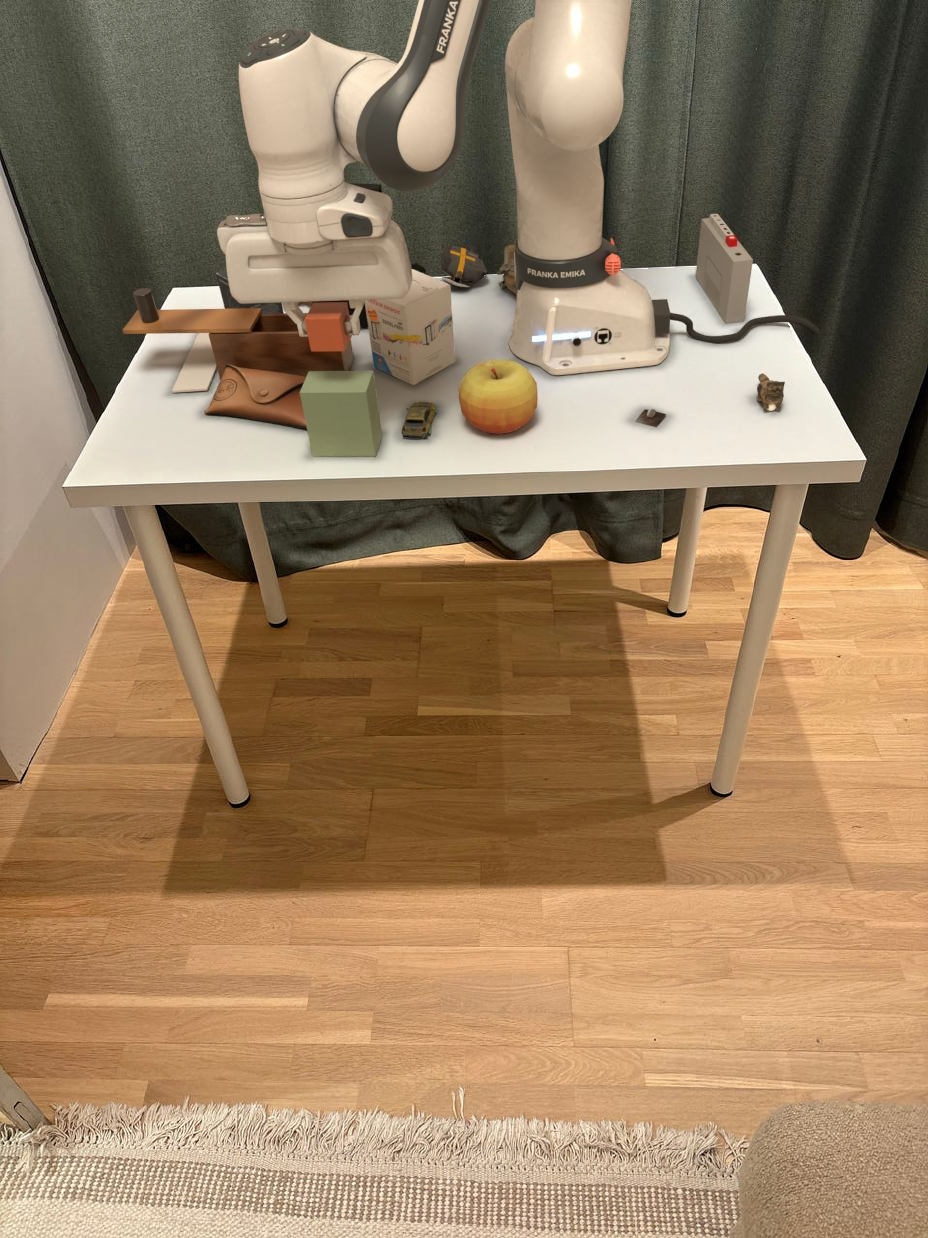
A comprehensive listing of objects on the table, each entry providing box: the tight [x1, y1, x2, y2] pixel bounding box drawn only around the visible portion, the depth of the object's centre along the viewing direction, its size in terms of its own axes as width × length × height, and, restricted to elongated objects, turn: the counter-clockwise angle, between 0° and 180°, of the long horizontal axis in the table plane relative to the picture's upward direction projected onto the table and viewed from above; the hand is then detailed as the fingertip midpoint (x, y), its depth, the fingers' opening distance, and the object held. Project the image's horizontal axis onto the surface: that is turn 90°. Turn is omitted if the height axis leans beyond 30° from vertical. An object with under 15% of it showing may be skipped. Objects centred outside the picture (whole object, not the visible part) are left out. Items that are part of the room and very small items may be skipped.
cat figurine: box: [756, 373, 786, 412], centre depth 120 cm, size 3×8×4 cm, turn 0°
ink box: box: [365, 269, 456, 386], centre depth 130 cm, size 9×8×12 cm
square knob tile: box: [635, 408, 667, 428], centre depth 119 cm, size 3×3×1 cm
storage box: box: [208, 312, 355, 381], centre depth 133 cm, size 18×6×7 cm, turn 84°
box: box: [215, 268, 284, 314], centre depth 138 cm, size 8×6×11 cm
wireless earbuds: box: [411, 262, 430, 276], centre depth 153 cm, size 7×2×5 cm
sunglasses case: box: [203, 365, 307, 430], centre depth 127 cm, size 18×7×7 cm
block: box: [305, 302, 353, 351], centre depth 109 cm, size 4×4×4 cm
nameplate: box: [171, 333, 218, 394], centre depth 140 cm, size 22×1×5 cm
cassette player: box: [694, 213, 754, 324], centre depth 139 cm, size 16×3×10 cm, turn 6°
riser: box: [300, 370, 383, 457], centre depth 117 cm, size 8×5×9 cm, turn 84°
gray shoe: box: [439, 245, 489, 288], centre depth 153 cm, size 7×15×4 cm, turn 176°
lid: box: [122, 287, 262, 335], centre depth 130 cm, size 18×6×5 cm, turn 84°
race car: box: [401, 400, 438, 440], centre depth 122 cm, size 4×8×2 cm, turn 172°
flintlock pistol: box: [496, 244, 517, 295], centre depth 150 cm, size 19×4×10 cm
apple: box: [458, 359, 539, 435], centre depth 119 cm, size 10×10×8 cm
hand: (330, 333), depth 110 cm, fingers closed on block, 4 cm apart
